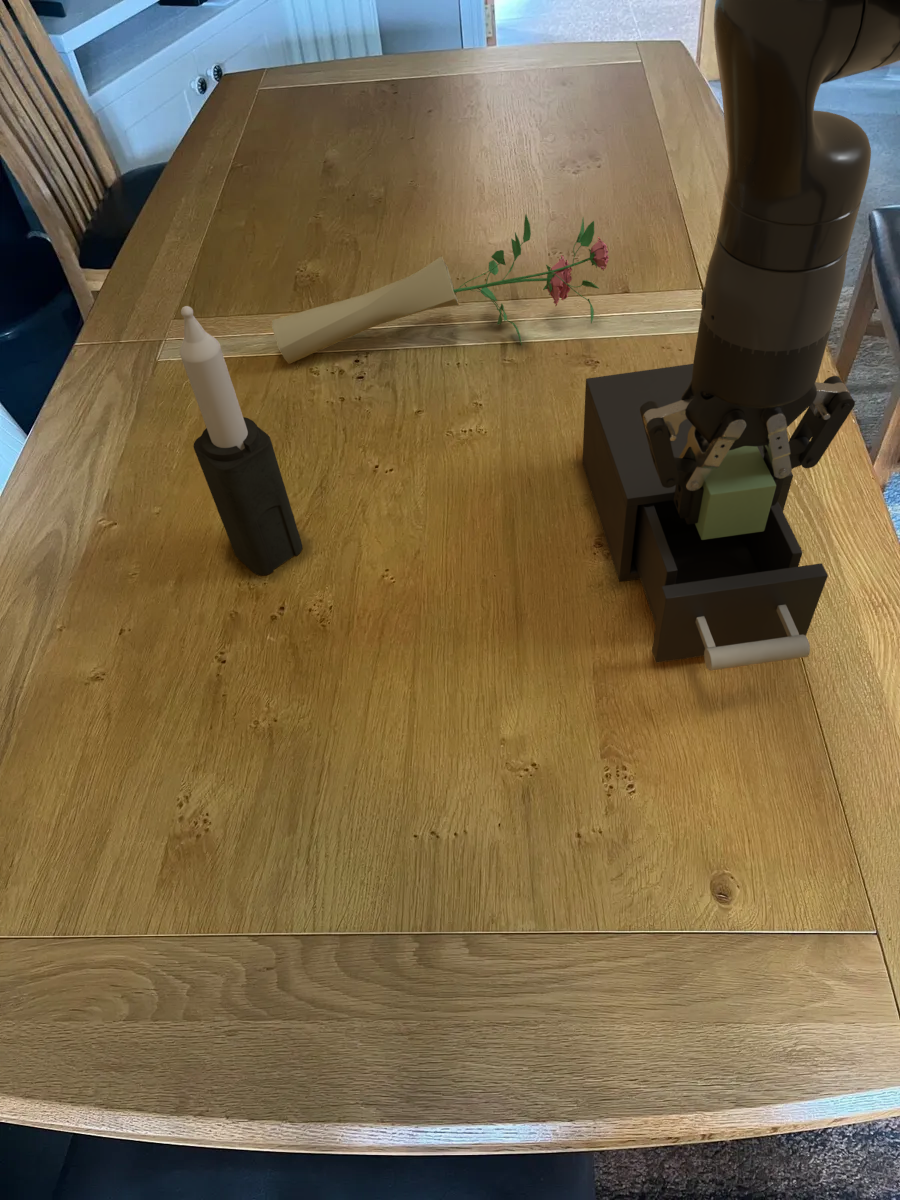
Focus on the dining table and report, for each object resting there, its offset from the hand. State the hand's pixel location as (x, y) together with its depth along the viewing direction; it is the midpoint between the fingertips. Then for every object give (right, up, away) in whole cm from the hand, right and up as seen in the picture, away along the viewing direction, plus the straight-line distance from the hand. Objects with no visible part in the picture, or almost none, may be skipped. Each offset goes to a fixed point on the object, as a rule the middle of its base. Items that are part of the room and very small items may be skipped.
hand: (724, 510), depth 68 cm
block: (0, 0, 0) cm, 0 cm away
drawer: (+1, -7, +6) cm, 10 cm away
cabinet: (0, +1, +15) cm, 15 cm away
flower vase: (-21, +22, +33) cm, 45 cm away
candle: (-36, -2, +16) cm, 40 cm away
